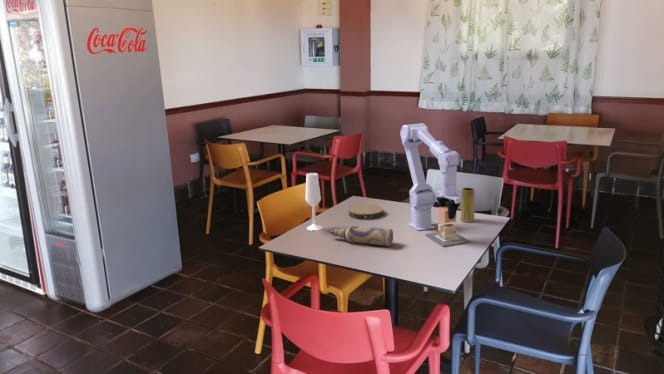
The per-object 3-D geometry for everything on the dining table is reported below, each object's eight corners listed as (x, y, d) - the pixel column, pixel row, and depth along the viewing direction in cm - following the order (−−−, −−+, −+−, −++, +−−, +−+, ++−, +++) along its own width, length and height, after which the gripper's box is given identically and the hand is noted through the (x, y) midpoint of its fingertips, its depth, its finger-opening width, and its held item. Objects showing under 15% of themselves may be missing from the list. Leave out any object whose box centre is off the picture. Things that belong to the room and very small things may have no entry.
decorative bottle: (394, 242, 200) (394, 226, 198) (388, 249, 194) (388, 232, 192) (334, 235, 211) (334, 220, 209) (327, 241, 204) (326, 226, 202)
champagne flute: (323, 225, 223) (320, 172, 218) (321, 230, 217) (318, 175, 211) (307, 225, 224) (305, 172, 218) (305, 230, 218) (302, 176, 212)
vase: (464, 223, 219) (465, 191, 216) (457, 219, 225) (458, 188, 222) (477, 221, 221) (478, 189, 217) (469, 217, 227) (470, 186, 223)
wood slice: (389, 212, 239) (388, 206, 239) (373, 222, 226) (373, 215, 226) (359, 208, 248) (359, 202, 247) (342, 217, 235) (342, 211, 234)
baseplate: (425, 235, 206) (425, 233, 206) (451, 231, 210) (451, 229, 210) (443, 247, 193) (443, 245, 193) (470, 242, 197) (470, 240, 197)
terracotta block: (438, 219, 201) (438, 207, 200) (449, 218, 202) (449, 206, 201) (444, 223, 196) (445, 210, 195) (456, 221, 198) (456, 209, 197)
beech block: (438, 236, 203) (438, 224, 202) (449, 234, 204) (449, 222, 203) (444, 240, 198) (444, 227, 197) (455, 238, 200) (456, 226, 198)
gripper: (430, 180, 201) (429, 212, 205) (449, 188, 188) (448, 223, 191) (445, 178, 203) (445, 210, 207) (466, 186, 190) (465, 220, 193)
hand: (447, 216), depth 199 cm, fingers closed on terracotta block, 5 cm apart
